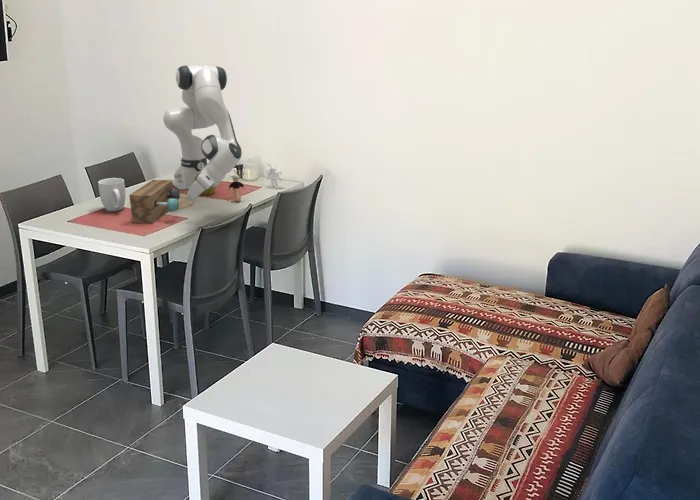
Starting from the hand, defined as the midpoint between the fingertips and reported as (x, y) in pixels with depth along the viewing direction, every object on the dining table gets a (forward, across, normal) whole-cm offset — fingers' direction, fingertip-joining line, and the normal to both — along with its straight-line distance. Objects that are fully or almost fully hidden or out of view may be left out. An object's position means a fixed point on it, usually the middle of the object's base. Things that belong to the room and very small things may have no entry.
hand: (190, 198), depth 315 cm
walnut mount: (+20, -8, -7) cm, 23 cm away
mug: (+35, -12, -21) cm, 42 cm away
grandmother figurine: (0, -31, +15) cm, 34 cm away
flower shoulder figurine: (-9, -55, +23) cm, 60 cm away
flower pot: (+12, -42, +2) cm, 44 cm away
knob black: (+15, -15, -7) cm, 22 cm away
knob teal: (+11, 0, -4) cm, 12 cm away
